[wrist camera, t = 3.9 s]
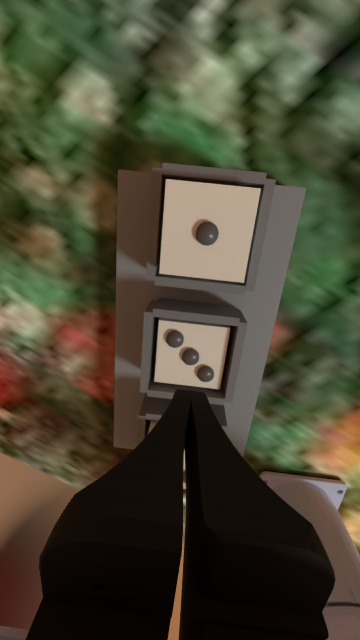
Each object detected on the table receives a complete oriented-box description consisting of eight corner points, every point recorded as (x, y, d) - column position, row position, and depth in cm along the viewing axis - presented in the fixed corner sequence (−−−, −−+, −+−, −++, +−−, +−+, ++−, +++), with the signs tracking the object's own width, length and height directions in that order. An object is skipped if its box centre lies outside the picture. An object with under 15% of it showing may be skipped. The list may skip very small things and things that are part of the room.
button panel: (238, 444, 24) (247, 492, 20) (119, 430, 24) (103, 474, 20) (294, 191, 17) (328, 178, 13) (126, 174, 17) (102, 156, 13)
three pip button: (217, 375, 19) (220, 391, 17) (157, 368, 19) (153, 383, 17) (227, 318, 18) (230, 329, 16) (162, 311, 18) (158, 321, 16)
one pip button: (238, 276, 15) (244, 283, 13) (163, 268, 15) (158, 274, 13) (253, 193, 14) (262, 187, 12) (169, 184, 14) (165, 178, 12)
